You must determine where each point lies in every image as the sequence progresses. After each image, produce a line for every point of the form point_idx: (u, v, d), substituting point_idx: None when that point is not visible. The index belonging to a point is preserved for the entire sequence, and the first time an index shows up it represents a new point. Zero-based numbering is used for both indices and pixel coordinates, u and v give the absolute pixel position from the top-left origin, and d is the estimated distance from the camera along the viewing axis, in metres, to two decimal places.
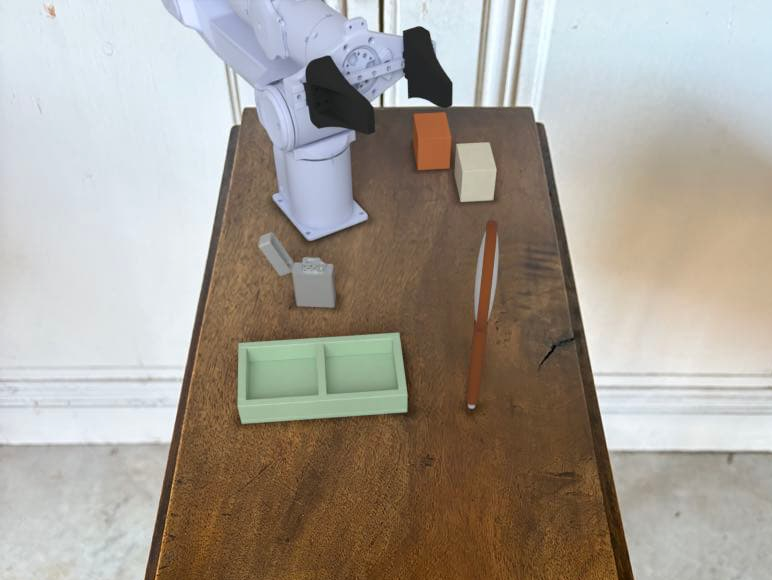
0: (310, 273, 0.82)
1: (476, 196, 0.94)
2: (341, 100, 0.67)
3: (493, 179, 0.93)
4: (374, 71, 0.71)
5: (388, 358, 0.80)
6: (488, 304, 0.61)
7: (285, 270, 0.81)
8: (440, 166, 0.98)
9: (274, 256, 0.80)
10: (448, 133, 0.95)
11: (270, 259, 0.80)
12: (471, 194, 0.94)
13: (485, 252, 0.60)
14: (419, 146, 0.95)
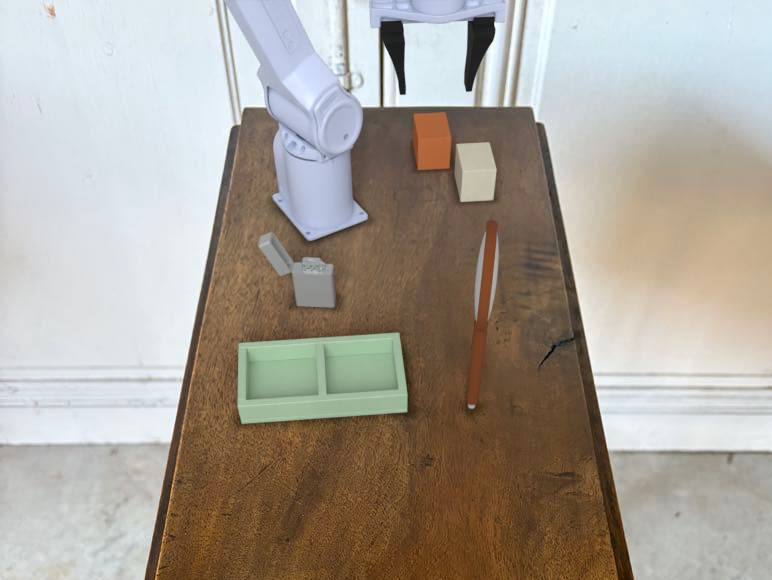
0: (310, 273, 0.82)
1: (476, 196, 0.94)
2: None
3: (493, 179, 0.93)
4: None
5: (388, 358, 0.80)
6: (488, 304, 0.61)
7: (285, 270, 0.81)
8: (440, 166, 0.98)
9: (274, 256, 0.80)
10: (448, 133, 0.95)
11: (270, 259, 0.80)
12: (471, 194, 0.94)
13: (485, 252, 0.60)
14: (419, 146, 0.95)
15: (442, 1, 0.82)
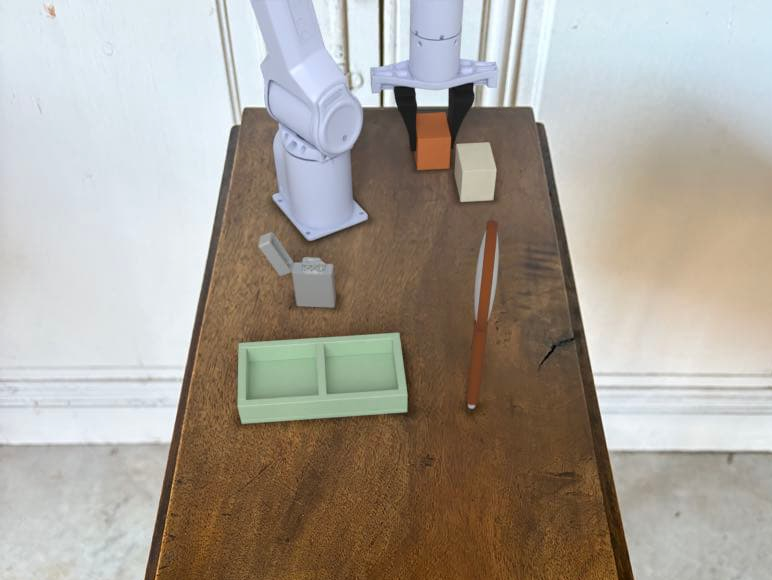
0: (310, 273, 0.82)
1: (476, 196, 0.94)
2: None
3: (493, 179, 0.93)
4: None
5: (388, 358, 0.80)
6: (488, 304, 0.61)
7: (285, 270, 0.81)
8: (440, 166, 0.98)
9: (274, 256, 0.80)
10: (448, 133, 0.95)
11: (270, 259, 0.80)
12: (471, 194, 0.94)
13: (485, 252, 0.60)
14: (419, 146, 0.95)
15: (439, 70, 0.88)
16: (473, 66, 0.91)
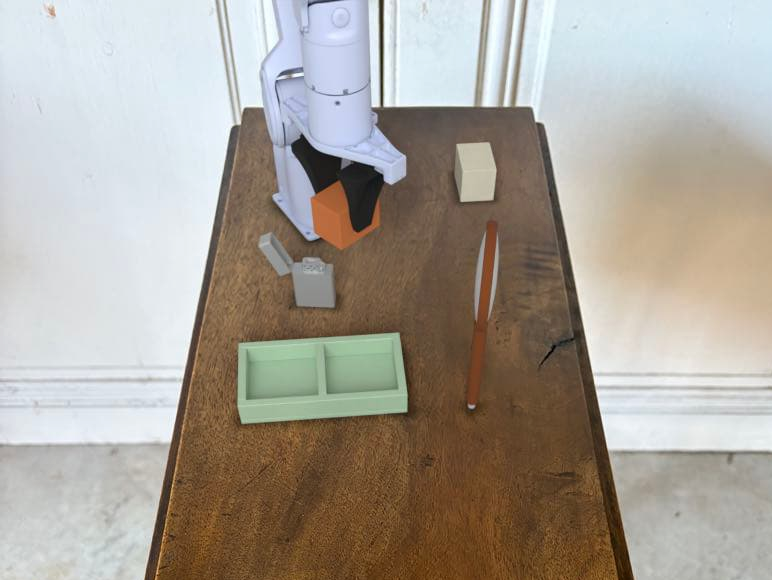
0: (310, 273, 0.82)
1: (476, 196, 0.94)
2: (366, 190, 0.75)
3: (493, 179, 0.93)
4: None
5: (388, 358, 0.80)
6: (488, 304, 0.61)
7: (285, 270, 0.81)
8: (333, 242, 0.79)
9: (274, 256, 0.80)
10: (343, 210, 0.76)
11: (270, 259, 0.80)
12: (471, 194, 0.94)
13: (485, 252, 0.60)
14: (312, 206, 0.78)
15: (317, 128, 0.70)
16: (377, 147, 0.70)
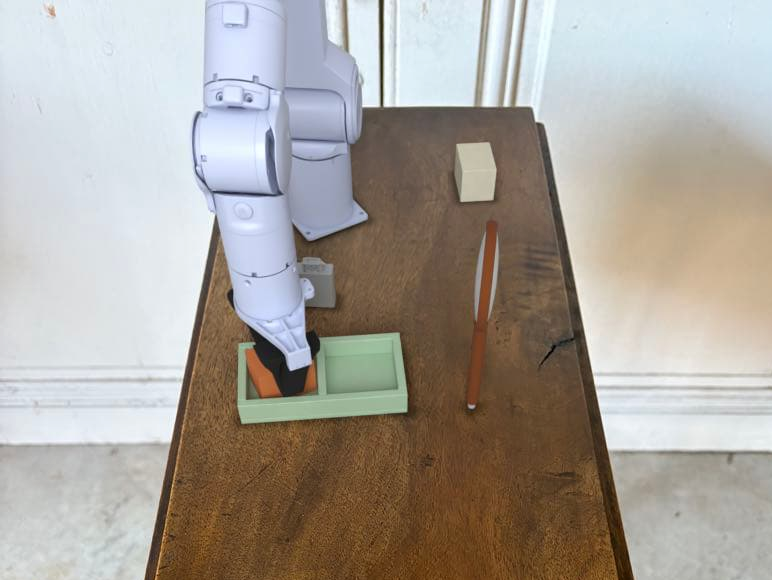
0: (310, 273, 0.82)
1: (476, 196, 0.94)
2: None
3: (493, 179, 0.93)
4: None
5: (388, 358, 0.80)
6: (488, 304, 0.61)
7: None
8: (260, 397, 0.77)
9: None
10: (266, 374, 0.74)
11: None
12: (471, 194, 0.94)
13: (485, 252, 0.60)
14: (246, 358, 0.76)
15: (235, 295, 0.67)
16: (289, 329, 0.67)
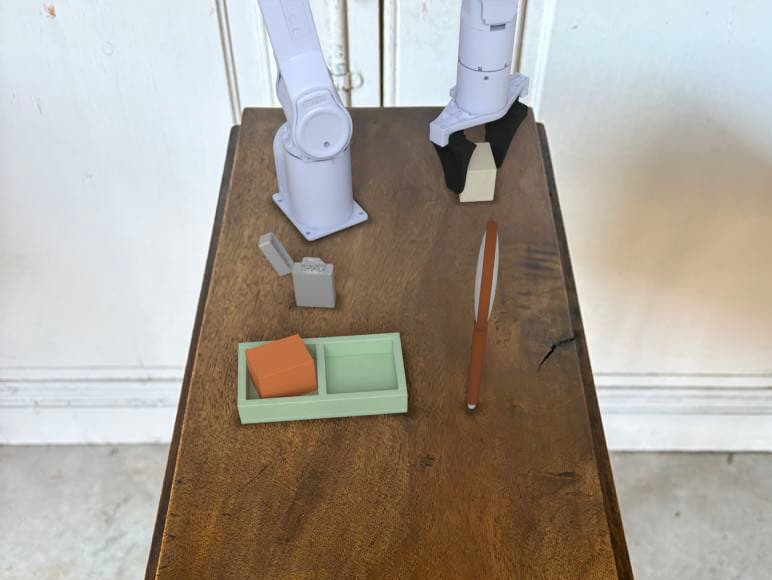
0: (310, 273, 0.82)
1: (476, 196, 0.94)
2: None
3: (493, 179, 0.93)
4: None
5: (388, 358, 0.80)
6: (488, 304, 0.61)
7: (285, 270, 0.81)
8: (260, 397, 0.77)
9: (274, 256, 0.80)
10: (266, 374, 0.74)
11: (270, 259, 0.80)
12: (470, 194, 0.94)
13: (485, 252, 0.60)
14: (246, 358, 0.76)
15: (503, 97, 0.85)
16: None
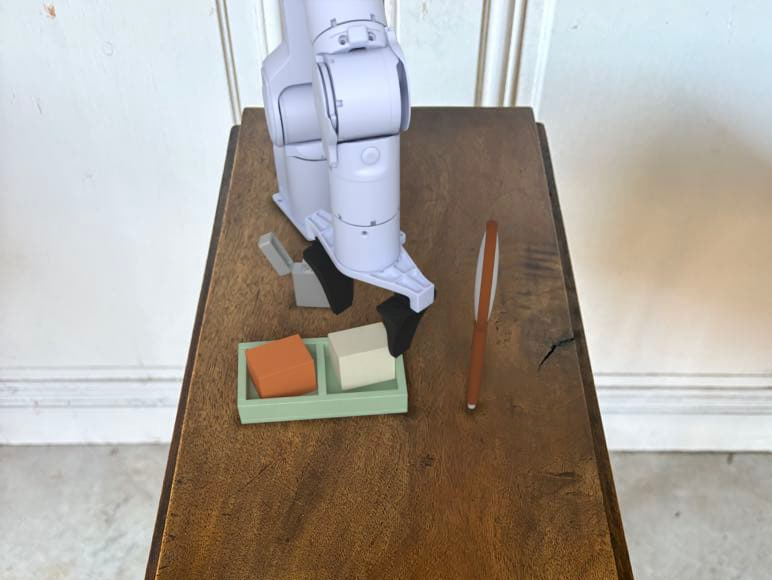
0: (310, 273, 0.82)
1: (335, 372, 0.78)
2: (406, 319, 0.72)
3: (339, 367, 0.75)
4: None
5: None
6: (488, 304, 0.61)
7: (285, 270, 0.81)
8: (260, 397, 0.77)
9: (274, 256, 0.80)
10: (266, 374, 0.74)
11: (270, 259, 0.80)
12: (333, 366, 0.78)
13: (485, 252, 0.60)
14: (246, 358, 0.76)
15: (343, 253, 0.67)
16: (405, 273, 0.68)
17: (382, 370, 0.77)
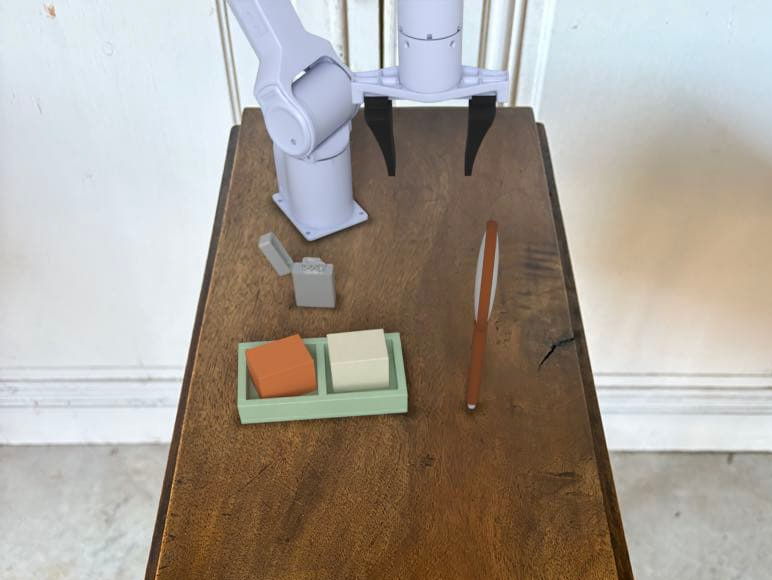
0: (310, 273, 0.82)
1: None
2: None
3: None
4: None
5: None
6: (488, 304, 0.61)
7: (285, 270, 0.81)
8: (260, 397, 0.77)
9: (274, 256, 0.80)
10: (266, 374, 0.74)
11: (270, 259, 0.80)
12: None
13: (485, 252, 0.60)
14: (246, 358, 0.76)
15: (431, 78, 0.70)
16: (479, 75, 0.73)
17: (375, 378, 0.77)
